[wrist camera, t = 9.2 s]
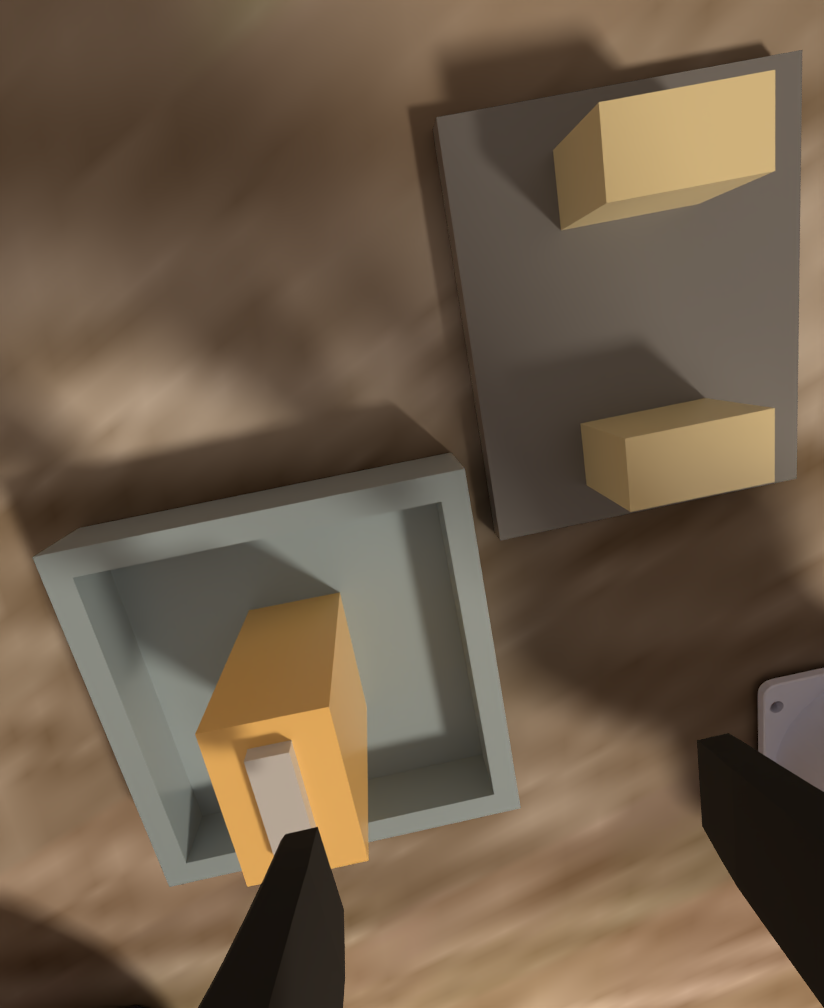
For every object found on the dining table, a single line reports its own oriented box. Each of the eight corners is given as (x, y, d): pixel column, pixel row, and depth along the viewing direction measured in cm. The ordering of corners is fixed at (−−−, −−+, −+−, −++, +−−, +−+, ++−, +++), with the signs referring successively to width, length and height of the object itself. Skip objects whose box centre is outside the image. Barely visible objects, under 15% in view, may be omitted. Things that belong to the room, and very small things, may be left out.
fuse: (366, 707, 19) (368, 875, 13) (282, 725, 19) (243, 902, 13) (339, 592, 18) (327, 718, 12) (249, 610, 18) (189, 746, 12)
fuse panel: (778, 473, 19) (878, 503, 15) (494, 532, 19) (526, 577, 15) (780, 64, 15) (909, -23, 12) (432, 128, 15) (455, 59, 11)
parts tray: (502, 755, 21) (520, 808, 19) (191, 824, 21) (169, 886, 18) (450, 452, 18) (464, 468, 15) (78, 528, 17) (32, 557, 15)
